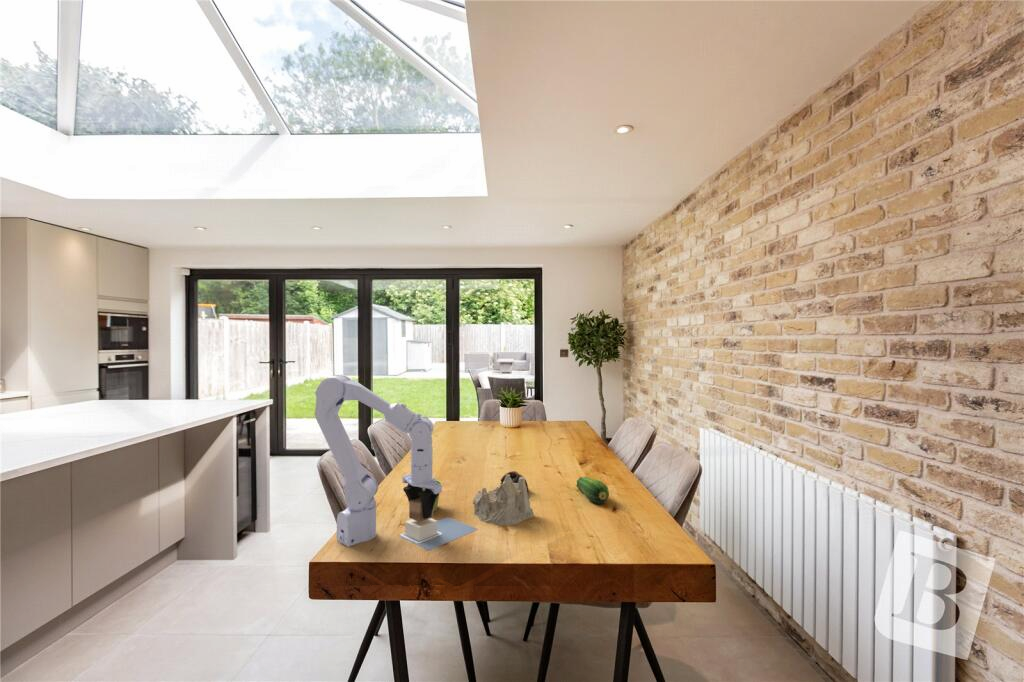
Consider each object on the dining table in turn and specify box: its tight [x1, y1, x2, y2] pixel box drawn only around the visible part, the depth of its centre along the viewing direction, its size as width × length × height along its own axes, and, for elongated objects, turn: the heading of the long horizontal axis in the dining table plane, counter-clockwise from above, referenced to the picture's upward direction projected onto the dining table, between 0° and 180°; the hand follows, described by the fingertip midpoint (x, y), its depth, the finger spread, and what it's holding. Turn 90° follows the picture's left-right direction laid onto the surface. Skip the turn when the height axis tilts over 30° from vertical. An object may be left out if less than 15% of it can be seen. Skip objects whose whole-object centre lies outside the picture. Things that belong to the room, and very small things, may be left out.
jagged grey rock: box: [472, 473, 535, 526], centre depth 131 cm, size 16×16×15 cm
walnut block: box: [408, 498, 434, 522], centre depth 117 cm, size 4×4×4 cm
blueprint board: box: [398, 516, 478, 551], centre depth 118 cm, size 17×13×1 cm
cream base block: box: [404, 517, 438, 541], centre depth 117 cm, size 6×6×4 cm
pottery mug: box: [499, 470, 530, 493], centre depth 156 cm, size 12×10×8 cm
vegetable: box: [575, 476, 610, 505], centre depth 150 cm, size 7×7×20 cm
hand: (421, 514), depth 117 cm, fingers closed on walnut block, 4 cm apart
